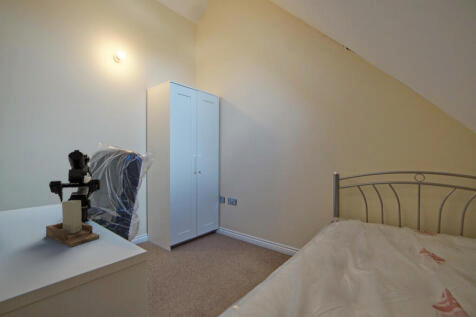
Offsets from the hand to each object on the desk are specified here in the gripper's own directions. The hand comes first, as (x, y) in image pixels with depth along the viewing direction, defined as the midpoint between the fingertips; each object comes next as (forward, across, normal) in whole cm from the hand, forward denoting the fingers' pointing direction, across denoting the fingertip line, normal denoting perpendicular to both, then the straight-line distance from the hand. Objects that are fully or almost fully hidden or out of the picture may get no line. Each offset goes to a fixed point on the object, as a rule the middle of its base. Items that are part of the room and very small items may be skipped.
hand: (74, 200), depth 95 cm
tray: (+15, 0, +4) cm, 16 cm away
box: (+14, 0, +3) cm, 14 cm away
